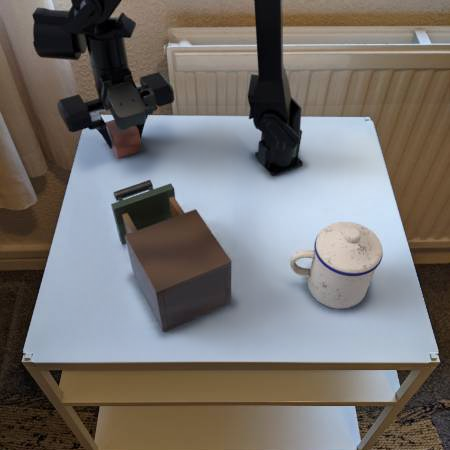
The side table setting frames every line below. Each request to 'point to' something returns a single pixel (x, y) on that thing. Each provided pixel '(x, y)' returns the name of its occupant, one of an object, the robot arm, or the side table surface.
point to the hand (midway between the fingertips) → (124, 142)
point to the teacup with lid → (340, 264)
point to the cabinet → (180, 269)
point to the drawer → (143, 207)
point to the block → (124, 139)
